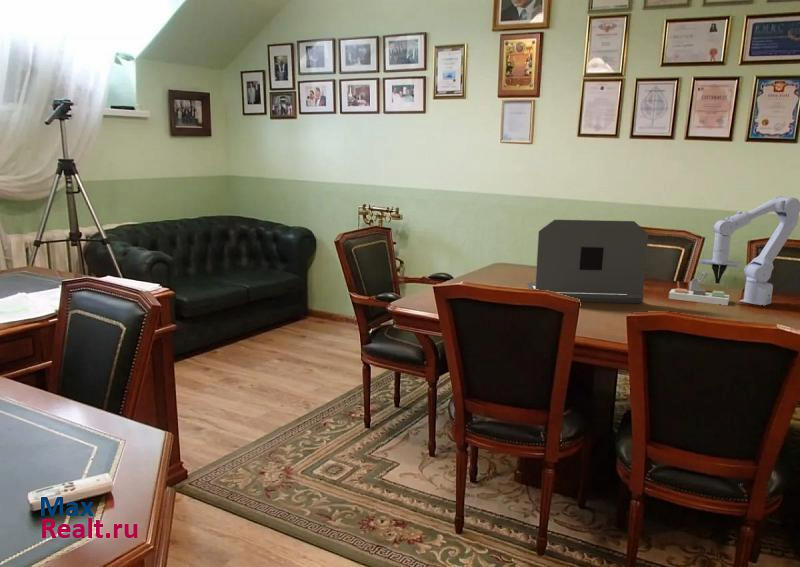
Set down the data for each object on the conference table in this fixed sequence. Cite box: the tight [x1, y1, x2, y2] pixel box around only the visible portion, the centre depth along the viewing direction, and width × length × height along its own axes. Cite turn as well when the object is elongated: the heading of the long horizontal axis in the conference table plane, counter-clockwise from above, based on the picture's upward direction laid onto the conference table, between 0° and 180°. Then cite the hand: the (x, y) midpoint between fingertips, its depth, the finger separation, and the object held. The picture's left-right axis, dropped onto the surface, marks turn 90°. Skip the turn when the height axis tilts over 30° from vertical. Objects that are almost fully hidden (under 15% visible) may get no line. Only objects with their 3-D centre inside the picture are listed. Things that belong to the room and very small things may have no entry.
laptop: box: [526, 219, 649, 304], centre depth 261 cm, size 43×31×34 cm
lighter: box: [688, 272, 708, 291], centre depth 273 cm, size 7×2×8 cm, turn 100°
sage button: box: [711, 290, 725, 298], centre depth 252 cm, size 4×4×3 cm
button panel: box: [668, 288, 730, 306], centre depth 256 cm, size 22×9×2 cm, turn 60°
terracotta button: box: [674, 288, 688, 294], centre depth 259 cm, size 4×4×3 cm
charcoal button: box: [693, 288, 707, 296], centre depth 256 cm, size 4×4×3 cm
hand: (717, 283), depth 252 cm, fingers closed
